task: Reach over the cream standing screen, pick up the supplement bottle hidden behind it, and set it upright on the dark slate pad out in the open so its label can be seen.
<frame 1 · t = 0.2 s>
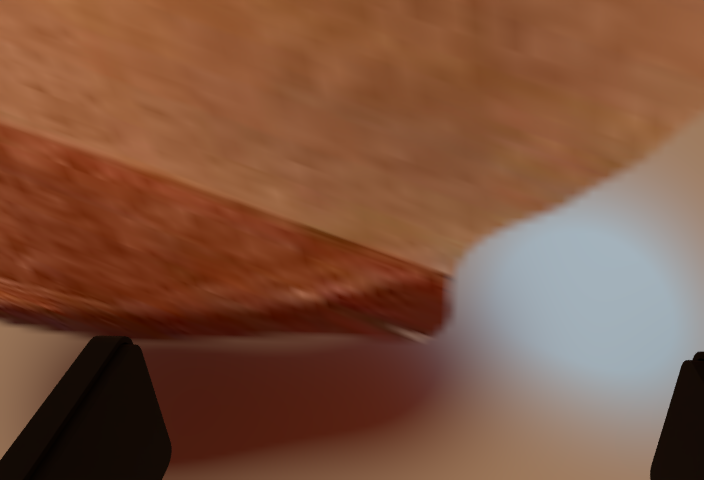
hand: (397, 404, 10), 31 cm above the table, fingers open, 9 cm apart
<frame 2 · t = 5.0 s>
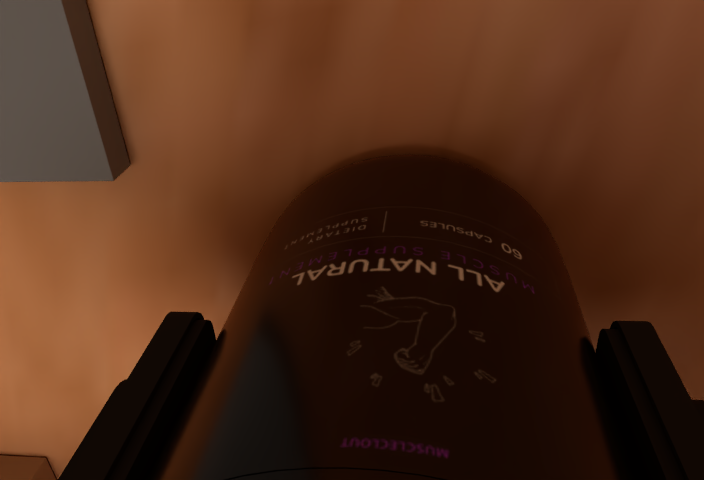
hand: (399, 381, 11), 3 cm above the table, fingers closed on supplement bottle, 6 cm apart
supplement bottle: (405, 276, 14), on the table, touching gripper
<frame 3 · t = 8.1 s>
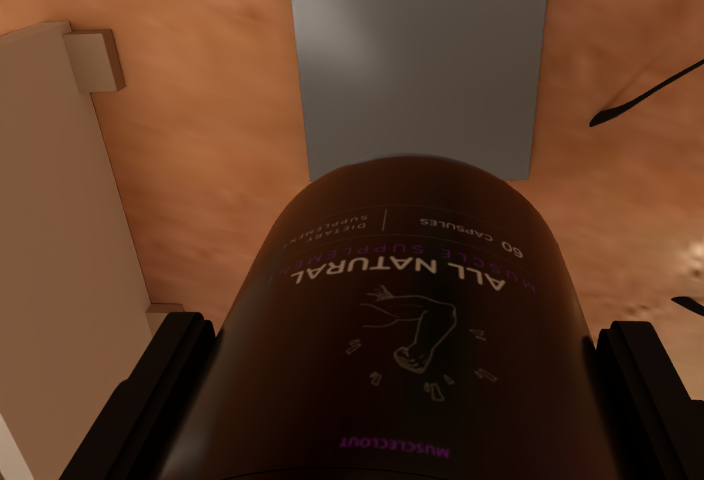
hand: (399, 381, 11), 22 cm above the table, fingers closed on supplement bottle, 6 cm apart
supplement bottle: (405, 275, 14), point 19 cm above the table, touching gripper
screen: (110, 206, 36), on the table
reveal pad: (416, 67, 30), on the table
when the fingers open (5 cm above the table, at t = 11.5 s): supplement bottle stays where it is, resting on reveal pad.
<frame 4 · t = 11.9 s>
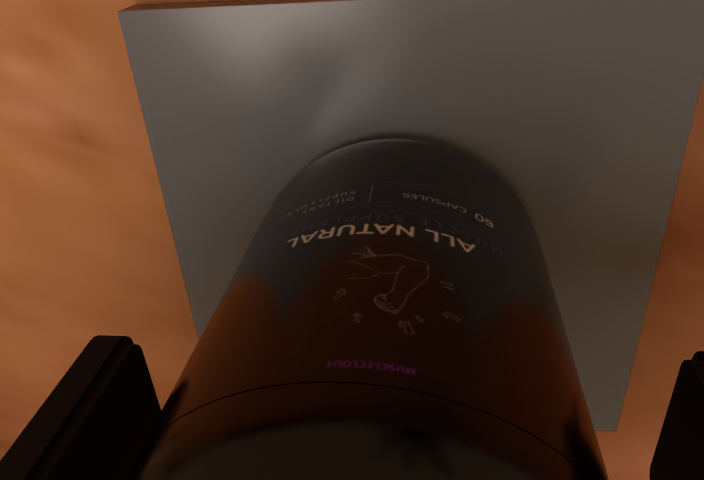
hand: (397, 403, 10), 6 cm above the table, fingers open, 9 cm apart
supplement bottle: (394, 253, 15), point 1 cm above the table, touching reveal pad
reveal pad: (406, 238, 15), on the table
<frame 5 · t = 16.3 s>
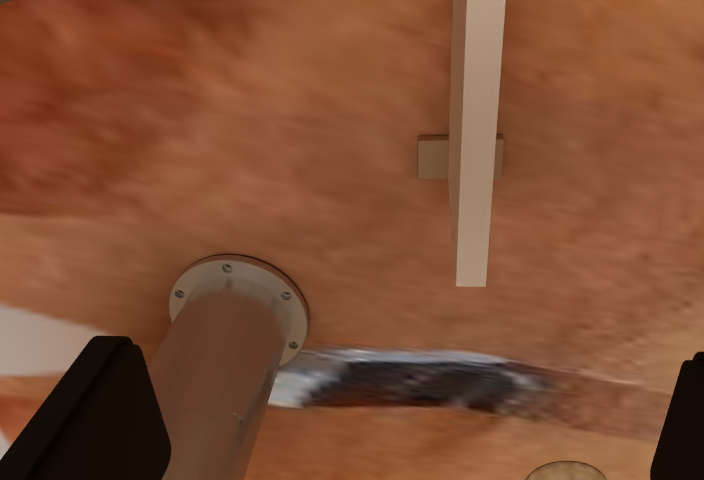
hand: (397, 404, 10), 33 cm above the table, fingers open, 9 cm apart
screen: (464, 26, 38), on the table
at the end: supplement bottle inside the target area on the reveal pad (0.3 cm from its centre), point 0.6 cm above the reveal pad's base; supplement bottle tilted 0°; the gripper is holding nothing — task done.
